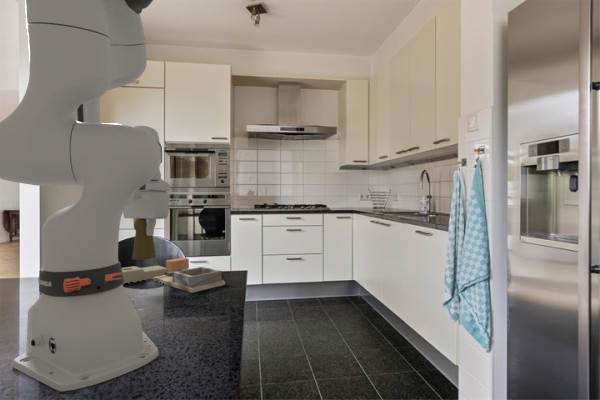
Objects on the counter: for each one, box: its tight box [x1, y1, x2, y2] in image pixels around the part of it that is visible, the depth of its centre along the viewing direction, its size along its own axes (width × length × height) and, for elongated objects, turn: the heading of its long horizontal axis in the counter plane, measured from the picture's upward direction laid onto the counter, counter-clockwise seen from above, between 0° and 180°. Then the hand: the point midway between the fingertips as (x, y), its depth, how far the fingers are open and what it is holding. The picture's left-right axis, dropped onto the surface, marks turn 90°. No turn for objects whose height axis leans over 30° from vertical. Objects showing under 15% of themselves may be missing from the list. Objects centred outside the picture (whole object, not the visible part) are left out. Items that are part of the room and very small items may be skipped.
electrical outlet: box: [121, 265, 168, 285], centre depth 107 cm, size 7×4×18 cm
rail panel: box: [152, 266, 226, 294], centre depth 103 cm, size 22×11×4 cm, turn 50°
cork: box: [131, 219, 157, 261], centre depth 94 cm, size 6×6×11 cm
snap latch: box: [165, 257, 190, 271], centre depth 107 cm, size 3×6×3 cm, turn 140°
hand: (144, 235), depth 94 cm, fingers closed on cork, 4 cm apart
